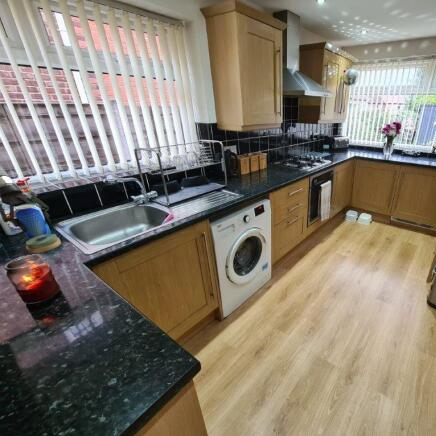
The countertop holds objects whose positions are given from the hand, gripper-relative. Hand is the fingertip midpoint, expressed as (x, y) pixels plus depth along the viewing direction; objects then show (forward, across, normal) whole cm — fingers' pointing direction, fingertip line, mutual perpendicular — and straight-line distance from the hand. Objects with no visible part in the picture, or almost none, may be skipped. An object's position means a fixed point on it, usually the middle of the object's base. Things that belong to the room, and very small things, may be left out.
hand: (38, 226), depth 113 cm
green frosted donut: (+11, +3, +2) cm, 12 cm away
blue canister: (+2, 0, -7) cm, 7 cm away
